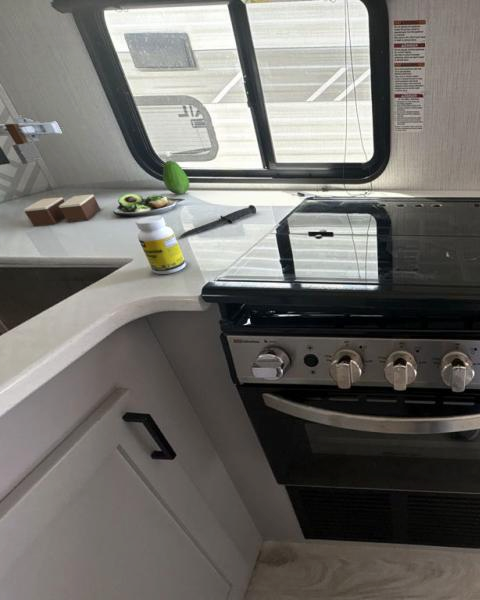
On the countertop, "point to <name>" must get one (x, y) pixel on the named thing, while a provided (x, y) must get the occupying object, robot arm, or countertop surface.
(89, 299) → the countertop surface
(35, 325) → the countertop surface
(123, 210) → the salad plate
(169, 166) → the avocado
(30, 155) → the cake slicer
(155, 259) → the pill bottle
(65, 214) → the cake
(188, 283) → the countertop surface
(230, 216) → the knife
